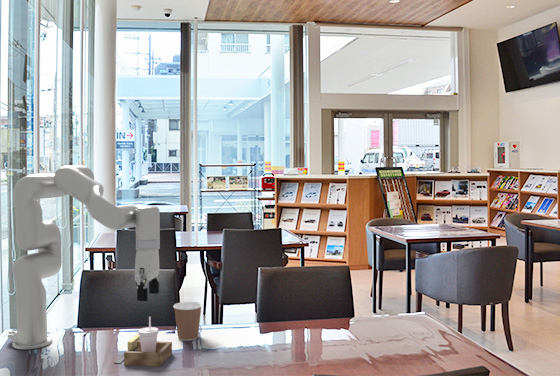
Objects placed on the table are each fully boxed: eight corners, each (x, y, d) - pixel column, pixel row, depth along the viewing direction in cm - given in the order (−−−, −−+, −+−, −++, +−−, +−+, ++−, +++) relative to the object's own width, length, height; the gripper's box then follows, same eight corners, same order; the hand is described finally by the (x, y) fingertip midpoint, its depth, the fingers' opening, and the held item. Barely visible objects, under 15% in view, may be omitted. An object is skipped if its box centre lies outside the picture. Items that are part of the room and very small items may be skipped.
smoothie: (153, 363, 171) (153, 320, 170) (134, 362, 172) (134, 319, 171) (161, 356, 177) (161, 314, 176) (143, 355, 178) (143, 313, 177)
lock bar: (127, 350, 181) (127, 341, 180) (138, 341, 190) (138, 332, 190) (132, 350, 180) (131, 342, 180) (143, 341, 190) (142, 333, 190)
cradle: (113, 364, 170) (112, 351, 170) (138, 342, 190) (138, 331, 190) (159, 366, 168) (159, 354, 168) (180, 344, 188) (180, 333, 188)
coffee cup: (207, 334, 199) (207, 302, 199) (193, 343, 189) (193, 310, 189) (182, 332, 202) (182, 300, 202) (168, 340, 193) (167, 307, 192)
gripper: (147, 240, 183) (147, 290, 183) (125, 248, 166) (126, 303, 166) (168, 240, 182) (168, 291, 182) (148, 249, 165) (149, 304, 165)
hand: (148, 296), depth 174 cm, fingers open, 9 cm apart
